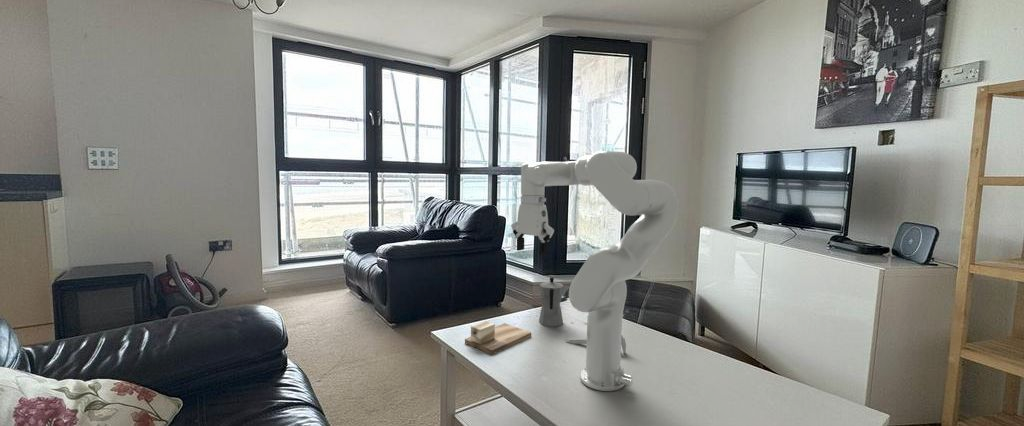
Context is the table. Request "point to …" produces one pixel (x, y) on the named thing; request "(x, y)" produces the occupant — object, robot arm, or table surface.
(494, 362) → the table surface
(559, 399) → the table surface
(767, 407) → the table surface
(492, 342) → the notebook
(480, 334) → the beige block with knob
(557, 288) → the coffeepot
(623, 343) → the caliper
